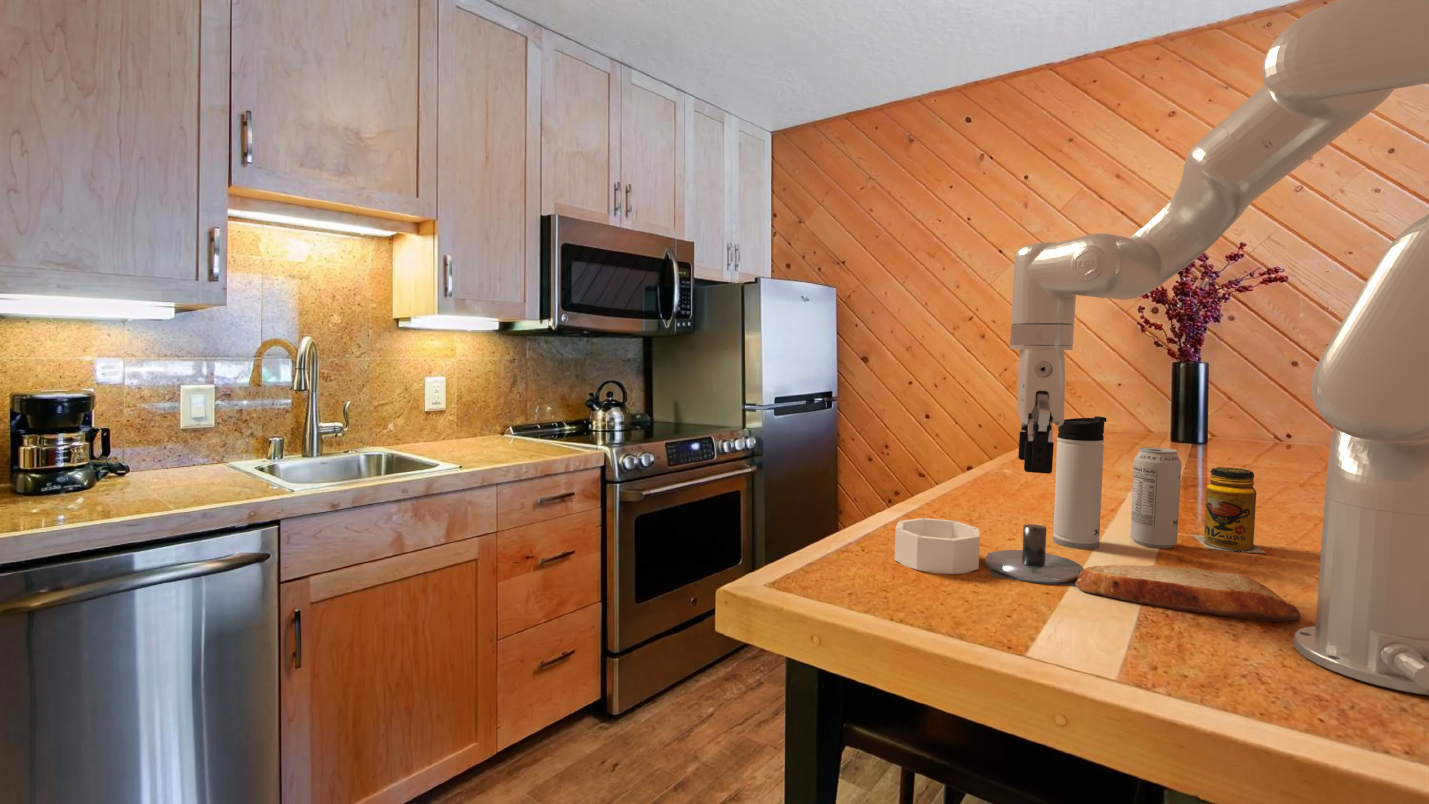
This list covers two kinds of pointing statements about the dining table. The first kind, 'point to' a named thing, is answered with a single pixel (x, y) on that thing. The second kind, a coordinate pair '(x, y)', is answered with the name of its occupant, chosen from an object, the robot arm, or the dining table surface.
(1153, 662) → the dining table surface
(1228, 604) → the bread slice
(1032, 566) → the lid
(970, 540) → the bowl
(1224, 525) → the condiment
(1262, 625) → the dining table surface
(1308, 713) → the dining table surface
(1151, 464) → the energy drink can
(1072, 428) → the travel mug
